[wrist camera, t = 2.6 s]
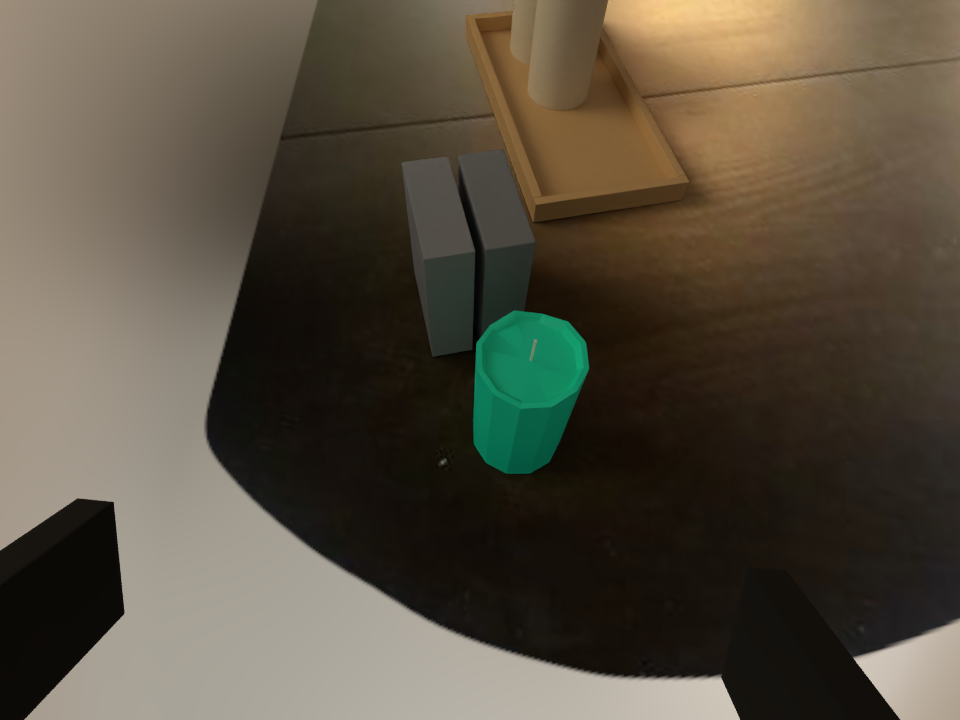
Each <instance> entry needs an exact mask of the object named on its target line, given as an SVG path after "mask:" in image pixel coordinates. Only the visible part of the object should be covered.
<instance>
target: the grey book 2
mask: <svg viewBox="0 0 960 720" xmlns="http://www.w3.org/2000/svg"><path fill="white" fill-rule="evenodd" d="M458 192H459V196H460V199H461V203H462V206H463V210H464V214H465V217H466V221H467V224H468V228H469V231H470V235H471V238H472V242H473V245H474V249H475V278H474V312H473V321H474V325H475V329H476V332H477V336H478V340H479V339H480V338H481V336H482V335H483V334H484V332H485V331H486V330H487V328H488V327H489V326H490V325H491V324H493V323H494V322H496V321H498V320H499V319H501V318H503V317H504V316H506V315H507V314H509V313H511V312H512V311H514V310H515V311H524V310H525V304H526V298H527V292H528V286H529V280H530V274H531V268H532V262H533V256H534V250H535V244H536V241H535V238H534V235H533V232H532V230H531V227H530V224H529V221H528V218H527V216H526V213H525V210H524V207H523V204H522V201H521V199H520V196H519V193H518V190H517V187H516V185H515V182H514V179H513V176H512V173H511V170H510V168H509V165H508V162H507V159H506V156H505V153H504V151H503V150H502V149H501V150H494V151H486V152H479V153H471V154H464V155H458Z"/></svg>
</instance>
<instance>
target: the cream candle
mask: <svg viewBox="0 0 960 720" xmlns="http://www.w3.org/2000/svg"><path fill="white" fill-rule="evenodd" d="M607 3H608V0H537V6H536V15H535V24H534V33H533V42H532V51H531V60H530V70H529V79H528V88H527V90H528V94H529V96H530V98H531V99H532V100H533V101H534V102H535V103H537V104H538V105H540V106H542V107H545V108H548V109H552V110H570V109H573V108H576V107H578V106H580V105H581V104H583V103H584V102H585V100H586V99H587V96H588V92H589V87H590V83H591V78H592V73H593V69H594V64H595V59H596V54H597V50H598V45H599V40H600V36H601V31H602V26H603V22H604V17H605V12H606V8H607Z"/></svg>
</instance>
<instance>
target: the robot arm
mask: <svg viewBox="0 0 960 720" xmlns="http://www.w3.org/2000/svg"><path fill="white" fill-rule="evenodd" d="M117 543H118V542H117V533H116V522H115V512H114V502H107V501H98V500H88V499H76V500H75V501H73V502H72V503H70V504H69V505H67V506H66V507H64V508H63V509H61V510H60V511H58V512H57V513H55V514H54V515H53V516H51V517H49V518H48V519H47V520H45V521H44V522H42V523H41V524H39V525H38V526H36V527H35V528H33V529H32V530H30V531H29V532H28V533H26V534H24V535H23V536H22V537H20V538H18V539H17V540H15V541H14V542H12V543H11V544H9V545H8V546H7V547H5V548H4V549H2V550H1V551H0V720H24V719H25V718H26V717H27V716H28V715H29V714H30V713H31V712H32V711H33V710H34V709H35V708H36V707H37V705H38V704H39V703H40V702H41V701H42V700H43V699H44V698H45V697H46V696H47V695H48V694H49V693H50V691H52V689H54V688H55V687H56V685H57V684H58V683H59V682H60V681H61V680H62V679H63V678H64V677H65V676H66V675H67V674H68V673H69V672H70V671H71V670H72V669H73V667H74V666H75V665H76V664H77V663H78V662H79V661H80V660H81V659H82V658H83V657H84V656H85V655H86V654H87V653H88V652H89V650H90V649H91V648H92V647H93V646H94V645H95V644H96V643H97V642H98V641H99V640H100V639H101V638H102V637H103V636H104V635H105V634H106V633H107V632H108V630H109V629H110V628H111V627H112V626H113V625H114V624H115V623H116V622H117V621H118V620H119V619H120V618H121V617H122V616H123V615H124V603H123V593H122V585H121V584H122V583H121V573H120V563H119V553H118V544H117ZM721 678H722V680H723V682H724V684H725V687H726V689H727V691H728V693H729V695H730V698H731V700H732V702H733V704H734V706H735V709H736V711H737V713H738V715H739V718H740V720H900V719H899V718H898V716H897V715H896V714H895V712H894V711H893V710H892V708H891V707H890V706H889V705H888V703H887V702H886V701H885V699H884V698H883V697H882V695H881V694H880V693H879V692H878V690H877V689H876V688H875V686H874V685H873V684H872V682H871V681H870V680H869V678H868V677H867V676H866V674H864V672H863V671H862V669H861V668H860V667H859V666H858V664H857V663H856V661H855V660H854V659H853V657H852V656H851V655H850V654H849V652H848V651H847V650H846V648H845V647H844V646H843V644H842V643H841V642H840V640H839V639H838V638H837V637H836V635H835V634H834V633H833V631H832V630H831V629H830V627H829V626H828V625H827V623H826V622H825V621H824V620H823V618H822V617H821V616H820V614H819V613H818V612H817V610H816V609H815V608H814V606H813V605H812V604H811V602H810V601H809V600H808V599H807V597H806V596H805V595H804V593H803V592H802V591H801V589H800V588H799V587H798V585H797V584H796V583H795V582H794V580H793V579H792V578H791V576H790V575H789V574H788V572H787V571H786V570H776V569H766V568H757V567H748V568H747V572H746V577H745V581H744V585H743V589H742V593H741V597H740V601H739V606H738V610H737V614H736V618H735V622H734V626H733V631H732V635H731V639H730V643H729V647H728V651H727V655H726V660H725V664H724V668H723V672H722V676H721Z"/></svg>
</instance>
